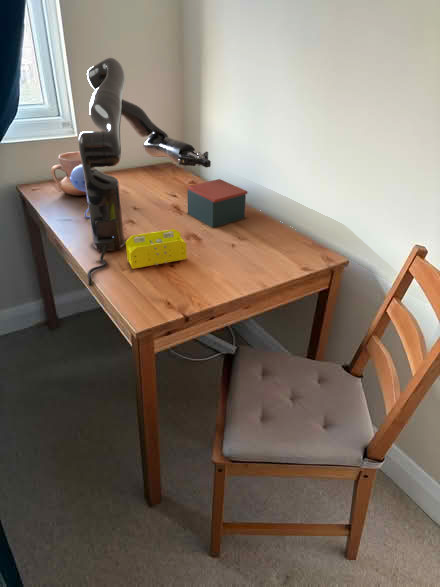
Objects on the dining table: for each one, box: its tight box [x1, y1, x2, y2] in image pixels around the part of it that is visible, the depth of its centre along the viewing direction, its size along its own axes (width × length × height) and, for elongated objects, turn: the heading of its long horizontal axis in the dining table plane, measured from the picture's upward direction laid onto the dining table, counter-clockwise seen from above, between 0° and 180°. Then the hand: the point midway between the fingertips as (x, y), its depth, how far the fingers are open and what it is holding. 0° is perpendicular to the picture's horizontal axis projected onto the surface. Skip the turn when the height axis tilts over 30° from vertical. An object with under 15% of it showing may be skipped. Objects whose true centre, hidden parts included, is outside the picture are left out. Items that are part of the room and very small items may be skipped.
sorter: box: [186, 188, 247, 228], centre depth 157 cm, size 14×14×9 cm
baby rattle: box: [70, 165, 90, 219], centre depth 151 cm, size 9×9×18 cm
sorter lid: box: [186, 178, 249, 202], centre depth 154 cm, size 15×14×1 cm
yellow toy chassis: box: [125, 228, 188, 269], centre depth 128 cm, size 16×6×8 cm, turn 114°
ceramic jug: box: [50, 150, 86, 196], centre depth 173 cm, size 18×14×14 cm
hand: (208, 164), depth 154 cm, fingers closed
